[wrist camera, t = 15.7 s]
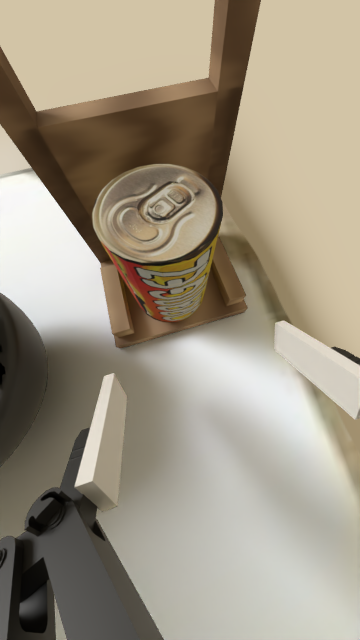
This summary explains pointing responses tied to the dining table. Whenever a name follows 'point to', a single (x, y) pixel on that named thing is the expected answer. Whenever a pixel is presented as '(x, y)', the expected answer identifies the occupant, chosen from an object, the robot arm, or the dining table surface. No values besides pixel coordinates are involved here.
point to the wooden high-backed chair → (141, 157)
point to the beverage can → (161, 235)
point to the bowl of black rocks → (19, 376)
